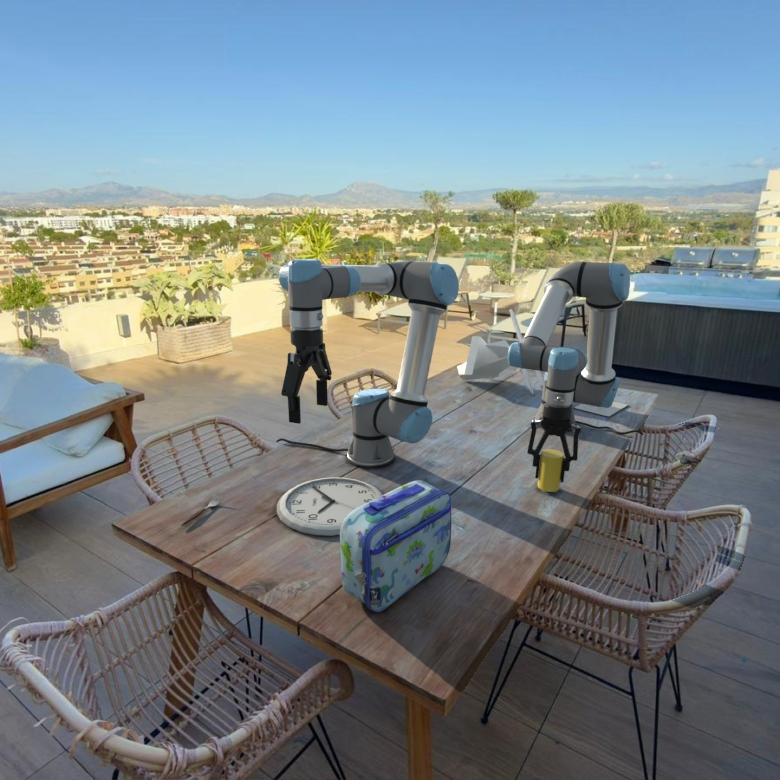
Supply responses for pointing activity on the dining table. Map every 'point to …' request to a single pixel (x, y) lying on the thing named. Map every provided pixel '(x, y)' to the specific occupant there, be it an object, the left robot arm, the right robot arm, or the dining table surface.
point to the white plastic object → (491, 359)
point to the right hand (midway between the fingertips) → (549, 478)
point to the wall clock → (323, 504)
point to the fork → (211, 504)
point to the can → (550, 470)
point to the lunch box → (394, 543)
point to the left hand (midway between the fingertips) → (309, 413)
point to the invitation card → (602, 408)
